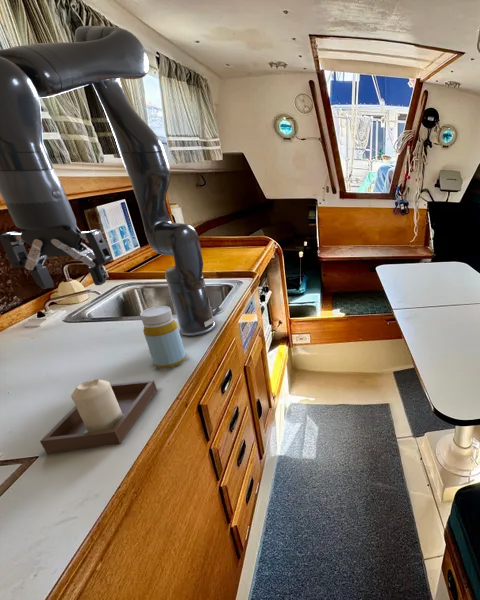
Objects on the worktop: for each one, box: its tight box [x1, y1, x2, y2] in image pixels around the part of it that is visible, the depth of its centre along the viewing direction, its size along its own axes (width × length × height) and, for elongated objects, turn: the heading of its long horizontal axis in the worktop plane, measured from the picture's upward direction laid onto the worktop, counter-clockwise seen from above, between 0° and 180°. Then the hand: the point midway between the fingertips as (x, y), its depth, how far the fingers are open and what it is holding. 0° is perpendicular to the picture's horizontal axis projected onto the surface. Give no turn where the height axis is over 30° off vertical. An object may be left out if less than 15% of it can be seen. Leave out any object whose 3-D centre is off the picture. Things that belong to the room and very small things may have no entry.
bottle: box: [139, 305, 187, 369], centre depth 82 cm, size 7×7×15 cm
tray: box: [39, 379, 158, 454], centre depth 66 cm, size 16×12×3 cm
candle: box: [70, 378, 123, 432], centre depth 63 cm, size 6×6×10 cm
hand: (74, 285), depth 62 cm, fingers open, 8 cm apart
